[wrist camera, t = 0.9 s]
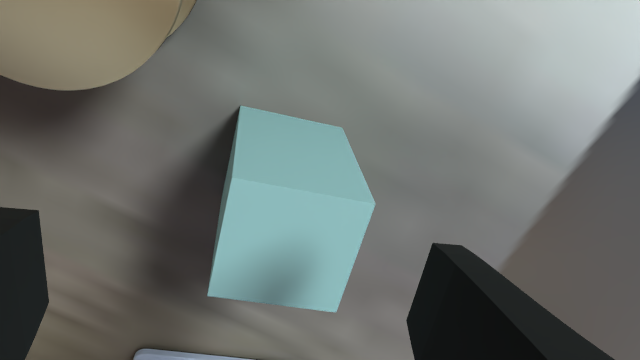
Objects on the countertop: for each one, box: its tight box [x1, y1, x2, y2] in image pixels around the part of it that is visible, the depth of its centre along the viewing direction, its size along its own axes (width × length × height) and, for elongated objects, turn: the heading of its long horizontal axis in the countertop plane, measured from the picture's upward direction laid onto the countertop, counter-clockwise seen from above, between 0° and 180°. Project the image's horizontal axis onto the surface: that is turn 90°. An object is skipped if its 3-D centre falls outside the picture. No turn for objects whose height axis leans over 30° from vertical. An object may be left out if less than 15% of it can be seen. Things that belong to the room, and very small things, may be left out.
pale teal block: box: [207, 106, 375, 312], centre depth 16 cm, size 4×4×6 cm
